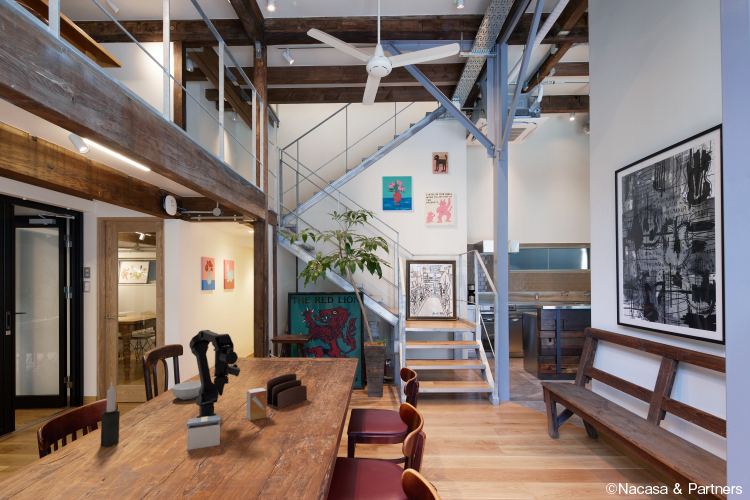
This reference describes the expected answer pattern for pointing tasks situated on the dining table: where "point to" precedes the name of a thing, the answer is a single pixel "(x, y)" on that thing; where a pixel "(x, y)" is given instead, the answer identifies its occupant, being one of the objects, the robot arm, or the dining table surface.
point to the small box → (256, 403)
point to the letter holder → (285, 391)
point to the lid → (204, 420)
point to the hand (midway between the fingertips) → (220, 395)
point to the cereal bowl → (186, 390)
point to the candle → (110, 421)
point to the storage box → (203, 435)
